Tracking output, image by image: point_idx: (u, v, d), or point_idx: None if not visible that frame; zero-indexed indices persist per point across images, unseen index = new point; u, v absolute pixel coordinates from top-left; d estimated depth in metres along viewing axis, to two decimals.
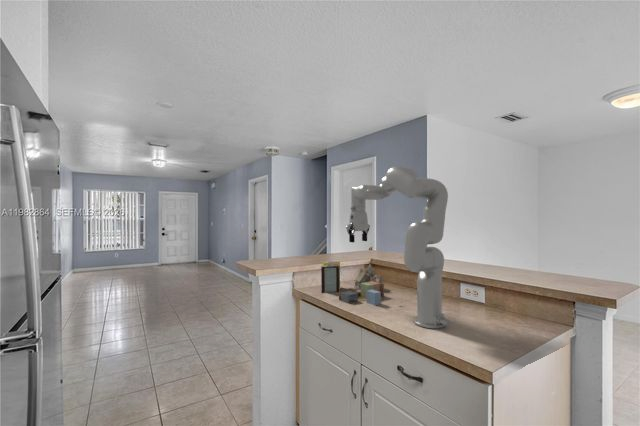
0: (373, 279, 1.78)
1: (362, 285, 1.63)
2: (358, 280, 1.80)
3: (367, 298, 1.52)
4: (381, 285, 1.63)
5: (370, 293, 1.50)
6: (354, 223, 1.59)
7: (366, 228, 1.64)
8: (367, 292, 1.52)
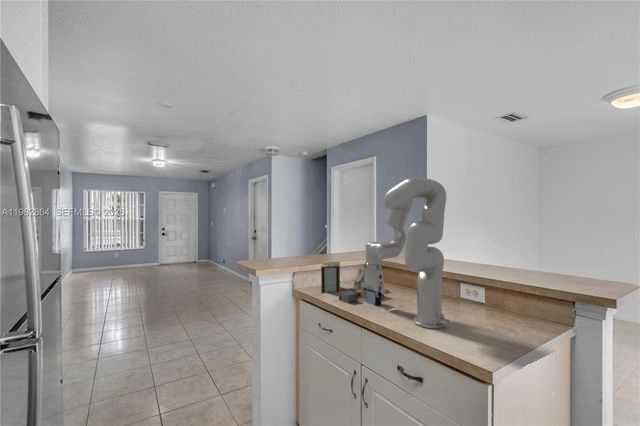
0: None
1: None
2: (357, 280, 1.79)
3: (367, 298, 1.52)
4: None
5: (370, 293, 1.50)
6: (383, 283, 1.48)
7: None
8: (367, 292, 1.52)
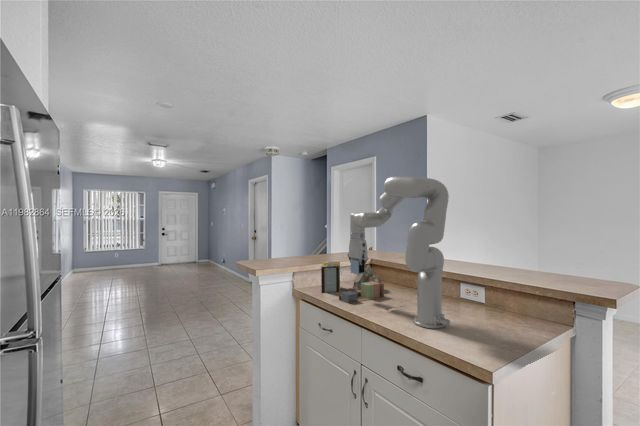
0: (372, 279, 1.76)
1: (362, 285, 1.63)
2: (357, 280, 1.79)
3: (351, 266, 1.60)
4: (381, 285, 1.63)
5: (354, 261, 1.58)
6: (366, 251, 1.56)
7: None
8: (351, 260, 1.60)
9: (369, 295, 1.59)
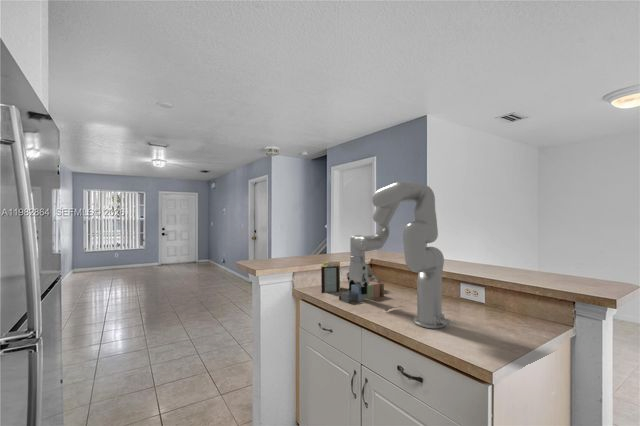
0: (371, 280, 1.76)
1: None
2: (356, 281, 1.78)
3: None
4: (381, 285, 1.63)
5: (354, 287, 1.58)
6: (366, 274, 1.56)
7: None
8: (352, 286, 1.60)
9: (369, 295, 1.59)
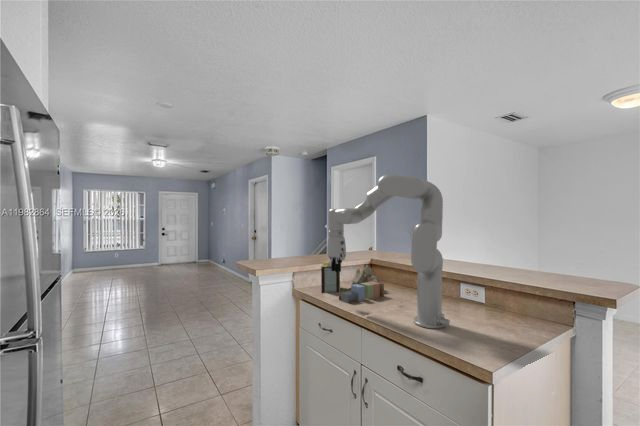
0: (371, 280, 1.76)
1: (362, 285, 1.63)
2: (355, 281, 1.77)
3: None
4: (381, 285, 1.63)
5: (354, 287, 1.58)
6: (345, 249, 1.48)
7: None
8: (352, 286, 1.60)
9: (369, 295, 1.59)
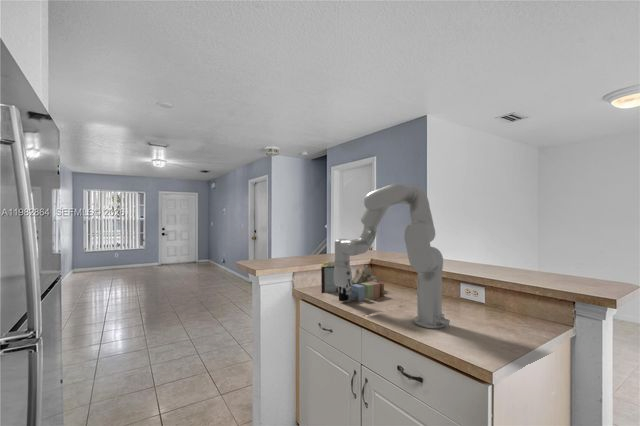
0: (370, 280, 1.75)
1: (362, 285, 1.63)
2: (355, 281, 1.77)
3: None
4: (381, 285, 1.63)
5: (354, 287, 1.58)
6: (351, 279, 1.50)
7: None
8: (352, 286, 1.60)
9: (369, 295, 1.59)
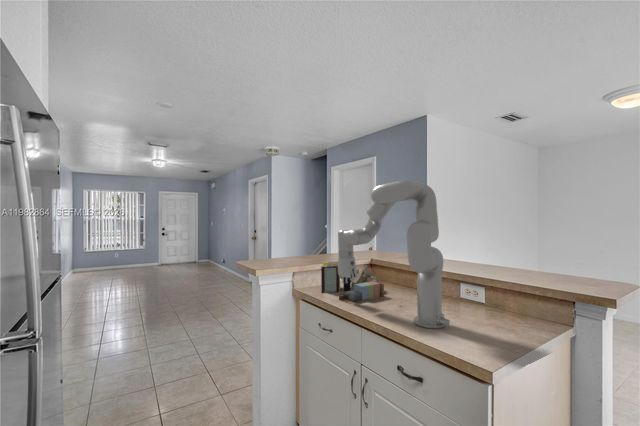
0: (370, 280, 1.75)
1: None
2: (355, 281, 1.77)
3: None
4: (381, 285, 1.63)
5: (358, 287, 1.59)
6: (355, 269, 1.51)
7: None
8: (355, 286, 1.61)
9: (369, 295, 1.59)
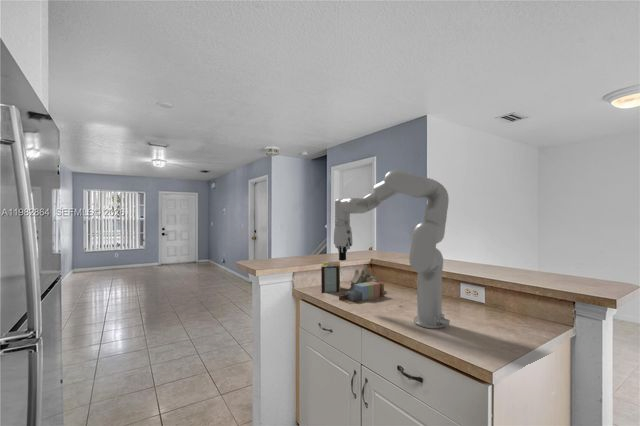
0: (369, 280, 1.75)
1: None
2: (354, 281, 1.77)
3: None
4: (381, 285, 1.63)
5: (358, 287, 1.59)
6: (351, 238, 1.50)
7: None
8: (355, 286, 1.61)
9: (369, 295, 1.59)
